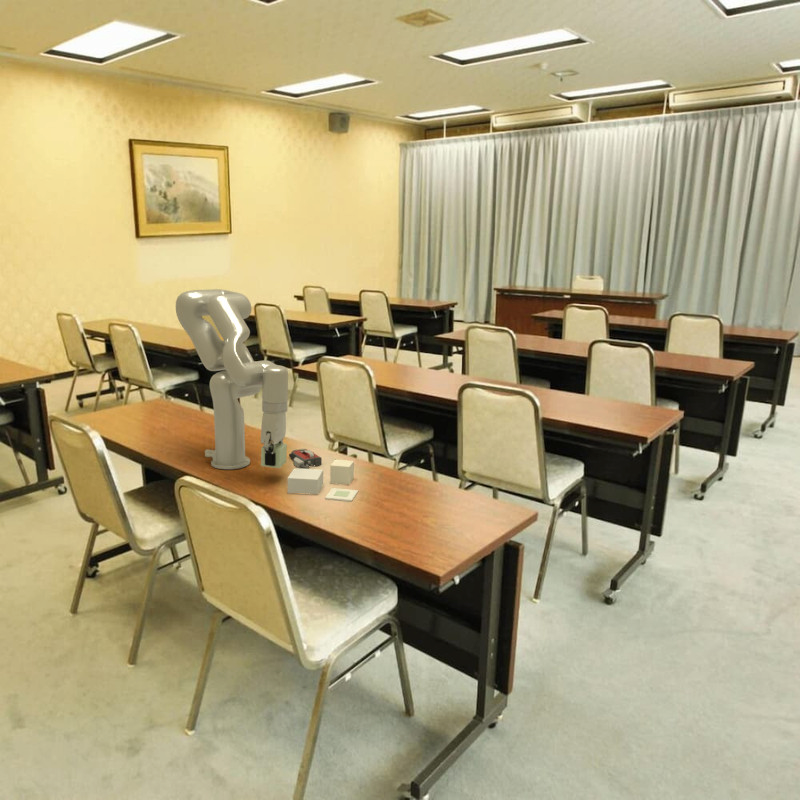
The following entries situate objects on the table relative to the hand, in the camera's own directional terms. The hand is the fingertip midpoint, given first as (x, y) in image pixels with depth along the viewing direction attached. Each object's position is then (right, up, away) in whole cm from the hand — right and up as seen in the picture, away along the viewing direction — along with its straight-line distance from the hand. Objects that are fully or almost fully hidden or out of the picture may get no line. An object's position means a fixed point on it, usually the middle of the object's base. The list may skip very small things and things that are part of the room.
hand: (273, 461), depth 204 cm
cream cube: (+21, -6, +1) cm, 22 cm away
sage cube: (0, -1, 0) cm, 1 cm away
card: (+22, -9, -11) cm, 26 cm away
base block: (+11, -8, -6) cm, 15 cm away
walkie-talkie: (+8, -3, +16) cm, 18 cm away
